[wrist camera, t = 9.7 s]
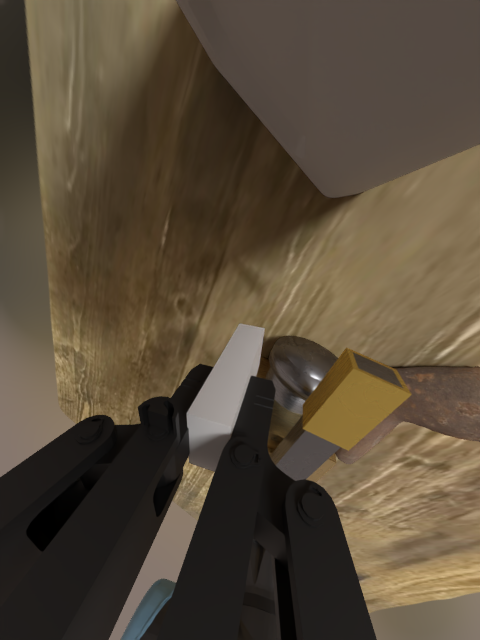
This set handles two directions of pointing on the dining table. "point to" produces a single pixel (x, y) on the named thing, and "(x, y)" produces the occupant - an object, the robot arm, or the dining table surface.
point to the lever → (340, 413)
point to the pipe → (430, 406)
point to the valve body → (294, 386)
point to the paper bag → (351, 80)
